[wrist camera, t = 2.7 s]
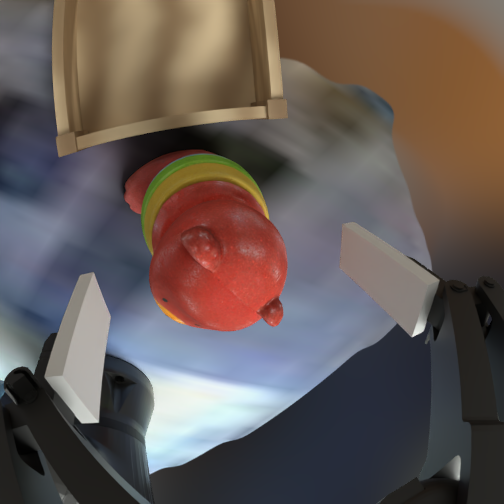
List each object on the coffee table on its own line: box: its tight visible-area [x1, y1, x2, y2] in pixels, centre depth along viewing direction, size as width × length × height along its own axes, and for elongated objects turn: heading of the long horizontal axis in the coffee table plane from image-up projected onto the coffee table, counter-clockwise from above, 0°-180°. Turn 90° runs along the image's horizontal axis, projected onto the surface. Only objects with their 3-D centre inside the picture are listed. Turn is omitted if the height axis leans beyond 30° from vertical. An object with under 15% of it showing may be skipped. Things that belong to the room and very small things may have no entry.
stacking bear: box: [124, 150, 287, 331], centre depth 20 cm, size 11×10×18 cm
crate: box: [52, 0, 288, 157], centre depth 18 cm, size 18×18×5 cm
